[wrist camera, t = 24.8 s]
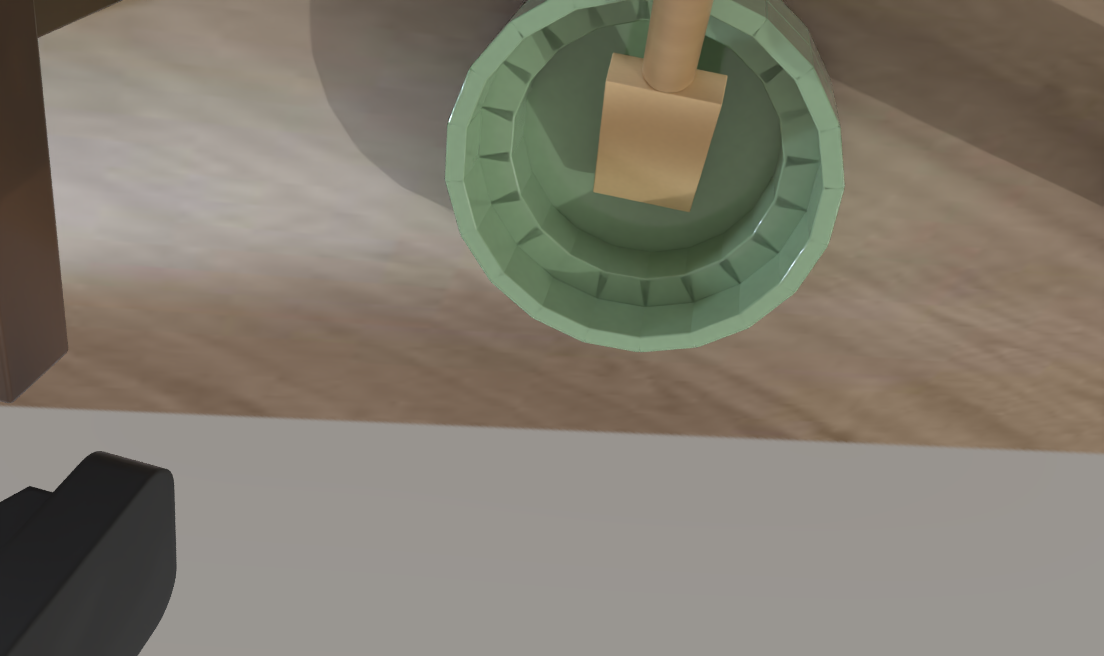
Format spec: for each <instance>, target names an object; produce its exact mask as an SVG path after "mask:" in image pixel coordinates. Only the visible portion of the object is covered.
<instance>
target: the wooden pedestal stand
mask: <svg viewBox="0 0 1104 656" xmlns="http://www.w3.org/2000/svg"><path fill="white" fill-rule="evenodd" d="M120 1H122V0H0V401H2V402H5V403H12V402H14V401H15V400H16V399H17V398H18V397H19V396H20V395H21V394H22V393H24V392H25V391H26V390H27V389H28V388H29V387H30V386H31V385H32V384H33V383H34V382H36V381H37V380H38V379H39V378H40V377H41V376H42V375H43V374H44V373H45V372H46V371H48V370H49V369H50V368H51V367H52V366H53V365H54V364H55V363H56V362H57V361H58V360H60V359H61V358H62V357H63V356H64V355H65V354H66V353H67V351H68V341H67V331H66V321H65V311H64V300H63V290H62V280H61V270H60V260H59V250H58V240H57V229H56V219H55V209H54V199H53V189H52V179H51V169H50V158H49V148H48V138H47V128H46V118H45V108H44V98H43V87H42V77H41V67H40V57H39V47H38V38H39V37H41V36H43V35H45V34H48V33H50V32H52V31H54V30H57V29H59V28H61V27H63V26H66V25H68V24H70V23H73V22H75V21H77V20H79V19H82V18H84V17H86V16H88V15H91V14H93V13H95V12H97V11H100V10H102V9H104V8H106V7H109V6H111V5H113V4H115V3H118V2H120Z"/></svg>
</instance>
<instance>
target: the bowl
mask: <svg viewBox="0 0 1104 656" xmlns="http://www.w3.org/2000/svg"><path fill="white" fill-rule="evenodd" d="M652 4H653V0H527V1H526V2H525V3H524V4H523V5H522V6H521V8H520V9H519V10H518V11H517V12H516V13H515V14H514V16H513V17H512V18H511V19H510V20H509V21H508V22H507V23H506V25H505V26H504V27H503V28H502V29H501V30H500V32H499V33H498V34H497V35H496V36H495V38H494V39H493V40H492V41H491V42H490V44H489V45H488V46H487V47H486V48H485V50H484V51H483V52H482V53H481V54H480V56H479V57H478V58H477V59H476V61H475V62H474V63H473V64H472V65H471V67H470V69H469V70H468V73H467V75H466V78H465V80H464V83H463V85H462V88H461V90H460V93H459V95H458V98H457V100H456V103H455V105H454V108H453V110H452V113H451V115H450V118H449V120H448V124H447V143H446V165H445V180H446V185H447V189H448V192H449V196H450V200H451V203H452V207H453V210H454V214H455V217H456V221H457V225H458V228H459V232H460V234H461V237H462V238H463V240H464V241H465V243H466V244H467V246H468V247H469V249H470V251H471V252H472V254H473V255H474V257H475V258H476V260H477V261H478V263H479V264H480V266H481V268H482V269H483V271H484V272H485V274H486V275H487V277H488V278H489V280H490V281H491V283H493V284H494V285H495V286H496V287H497V288H498V289H500V290H501V291H502V292H503V293H504V294H505V295H507V296H508V297H509V298H510V299H511V300H512V301H513V302H515V303H516V304H517V305H518V306H519V307H520V308H522V309H523V310H524V311H525V312H526V313H527V314H528V315H530V316H531V317H532V318H533V317H534V319H536V320H538V321H540V322H542V323H544V324H546V325H548V326H550V327H552V328H554V329H557V330H559V331H561V332H563V333H565V334H567V335H569V336H571V337H573V338H575V339H578V340H580V341H582V342H585V343H591V344H596V345H602V346H607V347H612V348H618V349H623V350H629V351H634V352H639V351H640V352H649V351H661V350H673V349H685V348H694V347H700V346H702V345H705V344H708V343H710V342H713V341H716V340H718V339H721V338H724V337H726V336H729V335H732V334H734V333H737V332H740V331H742V330H745V329H748V328H749V327H751V326H752V325H753V324H755V323H756V322H757V321H759V320H760V319H761V318H763V317H764V316H765V315H767V314H768V313H769V312H770V311H772V310H773V309H774V308H776V307H777V306H778V305H780V304H781V303H782V302H784V301H785V300H786V299H788V298H789V297H790V296H792V295H793V294H794V292H796V291H797V290H798V288H799V287H800V285H801V284H802V282H803V281H804V280H805V278H806V277H807V275H808V274H809V272H810V271H811V270H812V268H813V267H814V265H815V264H816V262H817V261H818V259H819V258H820V257H821V255H822V254H823V252H824V251H825V249H826V248H827V247H828V244H829V242H830V238H831V235H832V231H833V228H834V224H835V221H836V217H837V213H838V210H839V206H840V203H841V199H842V196H843V192H844V187H845V183H844V168H843V154H842V140H841V127H840V122H839V117H838V112H837V107H836V102H835V97H834V92H833V87H832V83H831V79H830V77H829V75H828V72H827V70H826V68H825V66H824V63H823V61H822V59H821V57H820V54H819V52H818V50H817V48H816V45H815V43H814V41H813V39H812V36H811V34H810V32H809V30H808V29H807V27H806V26H805V25H804V24H803V23H802V22H801V21H800V19H799V18H798V17H797V16H796V15H795V14H794V13H793V12H792V11H791V10H790V9H789V8H788V7H787V6H786V5H785V4H784V3H783V2H782V1H781V0H714V1H713V5H712V9H711V13H710V17H709V21H708V25H707V29H706V33H705V37H704V41H703V45H702V49H701V54H700V58H699V62H698V66H697V69H698V70H703V71H708V72H713V73H718V74H723V75H727V82H726V87H725V93H724V98H723V103H722V107H721V110H720V113H719V117H718V120H717V123H716V127H715V130H714V133H713V137H712V140H711V143H710V147H709V150H708V153H707V157H706V160H705V163H704V167H703V170H702V173H701V177H700V180H699V183H698V187H697V190H696V193H695V197H694V200H693V203H692V207H691V210H690V212H685V211H681V210H676V209H671V208H666V207H662V206H657V205H652V204H647V203H643V202H638V201H633V200H629V199H624V198H619V197H614V196H610V195H605V194H600V193H595V192H593V187H594V178H595V169H596V161H597V152H598V143H599V135H600V126H601V117H602V108H603V100H604V91H605V82H606V78H607V74H608V70H609V66H610V62H611V58H612V54H613V53H619V54H624V55H629V56H634V57H639V58H644V53H645V47H646V41H647V35H648V29H649V23H650V16H651V10H652Z"/></svg>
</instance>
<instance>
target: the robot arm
mask: <svg viewBox="0 0 1104 656" xmlns="http://www.w3.org/2000/svg"><path fill="white" fill-rule="evenodd" d="M175 533H176V532H175V501H174V480H173V476H172V474H171V472H170V471H169V470H168V469H164V468H161V467H157V466H154V465H150V464H146V463H143V462H139V461H136V460H132V459H128V458H124V457H121V456H117V455H114V454H110V453H106V452H102V451H97V452H94V453H92V454H90V455H89V456H87V457H86V458H85V459H84V460H83V461H82V462H81V463H80V464H79V465H78V466H77V467H76V468H75V469H74V470H73V471H72V472H71V474H70V475H69V476H68V477H67V478H66V479H65V480H64V481H63V482H62V483H61V484H60V485H59V486H58V488H57V489H56V490H55V491H54V492H49V491H46V490H42V489H38V488H35V487H31V486H29V487H27V488H25V489H23V490H22V491H20V492H18V493H16V494H14V495H12V496H11V497H9V498H7V499H5V500H3V501H1V502H0V656H137V655H138V654H139V653H140V651H141V649H142V648H143V646H144V645H145V644H146V642H147V641H148V639H149V638H150V636H151V635H152V633H153V632H154V630H155V629H156V627H157V625H158V624H159V622H160V620H161V618H162V616H163V614H164V612H165V610H166V608H167V605H168V603H169V600H170V597H171V594H172V590H173V587H174V583H175V578H176V534H175Z"/></svg>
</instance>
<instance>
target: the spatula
mask: <svg viewBox="0 0 1104 656" xmlns="http://www.w3.org/2000/svg"><path fill="white" fill-rule="evenodd" d="M713 1H714V0H653V4H652V10H651V16H650V23H649V29H648V35H647V41H646V47H645V53H644V58H639V57H634V56H629V55H624V54H619V53H613V54H612V58H611V62H610V66H609V70H608V74H607V78H606V82H605V91H604V100H603V108H602V117H601V126H600V135H599V143H598V152H597V161H596V169H595V178H594V187H593V192H595V193H600V194H605V195H610V196H614V197H619V198H624V199H629V200H633V201H638V202H643V203H647V204H652V205H657V206H662V207H666V208H671V209H676V210H681V211H685V212H690V210H691V207H692V203H693V200H694V197H695V193H696V190H697V187H698V183H699V180H700V177H701V173H702V170H703V167H704V163H705V160H706V157H707V153H708V150H709V147H710V143H711V140H712V137H713V133H714V130H715V127H716V123H717V120H718V117H719V113H720V110H721V107H722V103H723V98H724V93H725V87H726V82H727V75H723V74H718V73H713V72H708V71H703V70H698V69H697V66H698V62H699V58H700V54H701V49H702V45H703V41H704V37H705V33H706V29H707V25H708V21H709V17H710V13H711V9H712V5H713Z"/></svg>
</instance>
